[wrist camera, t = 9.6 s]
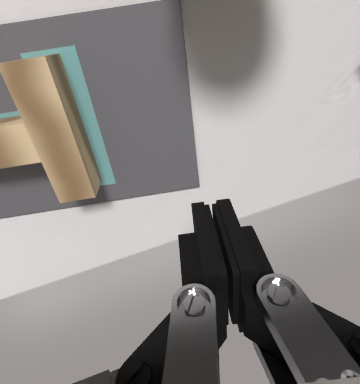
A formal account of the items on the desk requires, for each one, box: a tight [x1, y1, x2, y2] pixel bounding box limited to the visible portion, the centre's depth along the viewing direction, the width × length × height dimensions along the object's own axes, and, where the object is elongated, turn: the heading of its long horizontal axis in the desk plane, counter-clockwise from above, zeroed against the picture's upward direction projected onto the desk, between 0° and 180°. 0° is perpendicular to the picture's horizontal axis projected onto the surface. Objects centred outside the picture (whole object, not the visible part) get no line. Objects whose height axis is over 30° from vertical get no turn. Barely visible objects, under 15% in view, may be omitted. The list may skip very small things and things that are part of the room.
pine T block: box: [0, 53, 102, 203], centre depth 27 cm, size 12×14×4 cm
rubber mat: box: [0, 0, 199, 218], centre depth 29 cm, size 28×20×1 cm
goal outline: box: [0, 45, 116, 186], centre depth 29 cm, size 13×15×1 cm
